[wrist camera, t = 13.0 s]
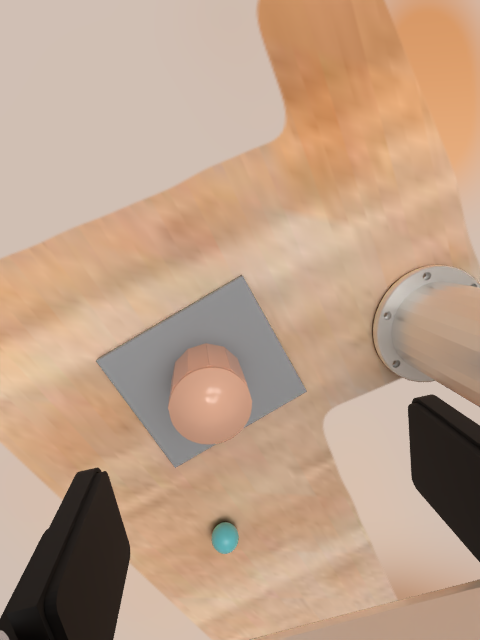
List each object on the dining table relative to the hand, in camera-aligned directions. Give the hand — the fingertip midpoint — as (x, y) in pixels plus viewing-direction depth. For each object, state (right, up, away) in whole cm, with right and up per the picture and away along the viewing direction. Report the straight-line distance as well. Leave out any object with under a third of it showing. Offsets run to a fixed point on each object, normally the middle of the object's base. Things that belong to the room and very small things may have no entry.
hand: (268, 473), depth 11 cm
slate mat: (-4, -1, +26) cm, 26 cm away
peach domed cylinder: (-4, -1, +25) cm, 25 cm away
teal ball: (-3, -19, +30) cm, 36 cm away
